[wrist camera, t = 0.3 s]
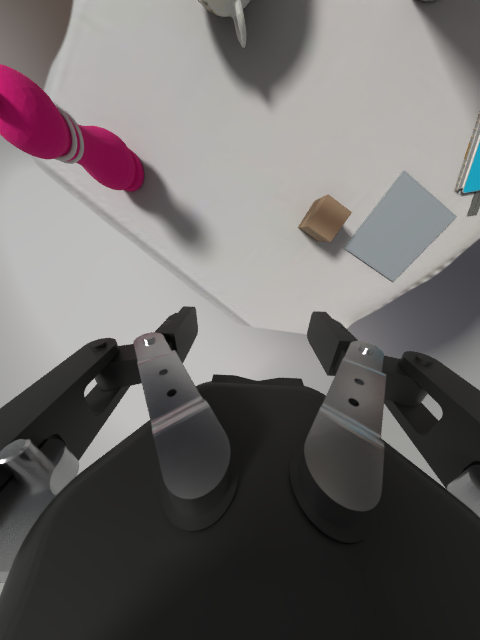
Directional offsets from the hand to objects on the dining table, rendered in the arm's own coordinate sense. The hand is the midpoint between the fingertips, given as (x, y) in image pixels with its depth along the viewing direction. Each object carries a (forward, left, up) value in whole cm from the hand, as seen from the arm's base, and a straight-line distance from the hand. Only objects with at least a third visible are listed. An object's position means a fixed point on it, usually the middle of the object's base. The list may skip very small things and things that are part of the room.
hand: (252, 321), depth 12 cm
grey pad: (-19, +23, -29) cm, 41 cm away
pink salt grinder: (-3, -27, -29) cm, 40 cm away
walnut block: (-13, +8, -29) cm, 32 cm away
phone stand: (-36, +27, -29) cm, 54 cm away
